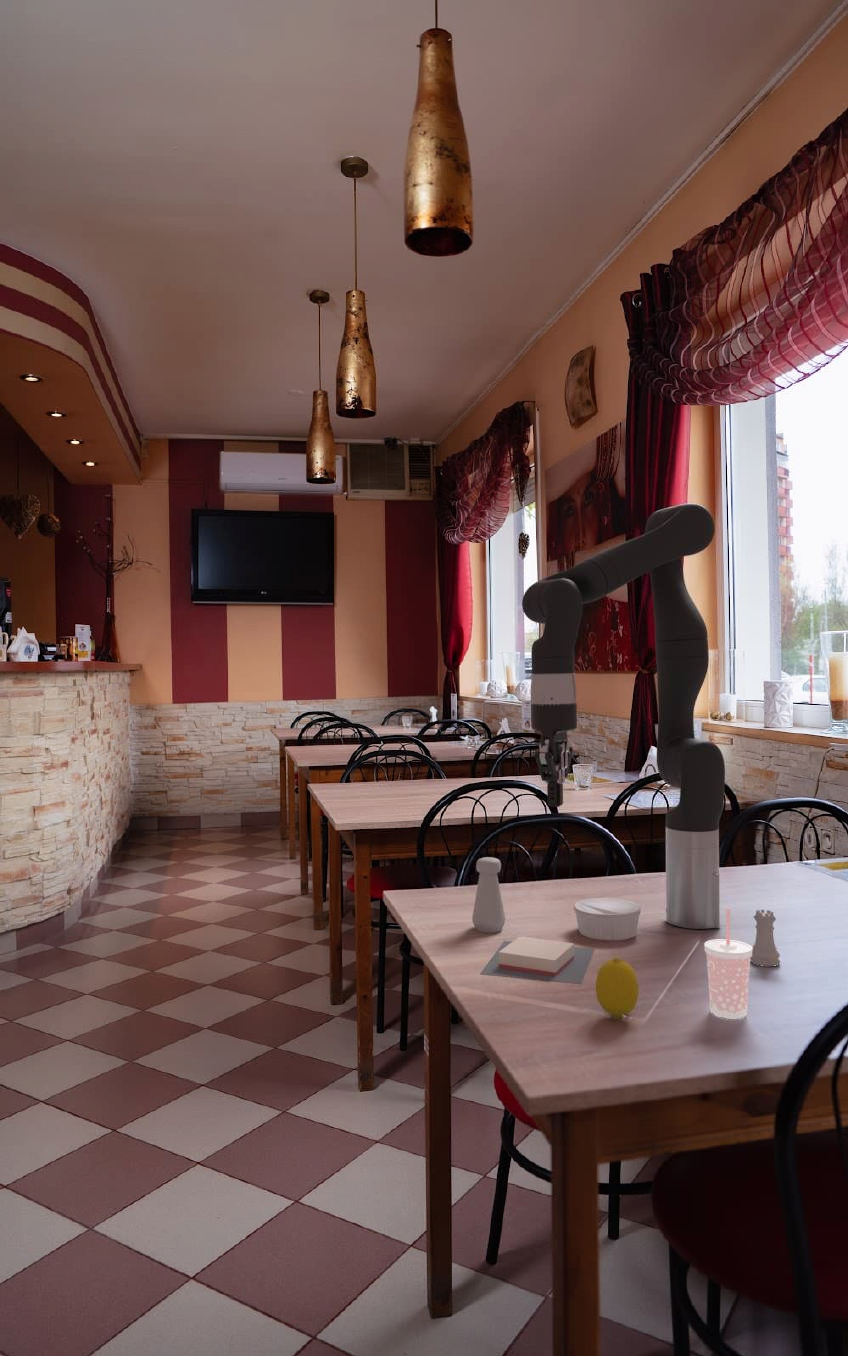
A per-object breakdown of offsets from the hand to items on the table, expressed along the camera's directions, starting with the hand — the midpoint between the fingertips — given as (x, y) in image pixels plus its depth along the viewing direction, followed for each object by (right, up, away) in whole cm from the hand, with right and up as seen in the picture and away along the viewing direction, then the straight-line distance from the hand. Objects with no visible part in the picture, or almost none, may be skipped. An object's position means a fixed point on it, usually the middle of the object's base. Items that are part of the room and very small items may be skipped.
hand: (555, 805), depth 147 cm
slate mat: (-4, -24, -8) cm, 25 cm away
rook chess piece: (+31, -24, -8) cm, 40 cm away
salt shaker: (-10, -24, +9) cm, 27 cm away
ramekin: (+10, -24, +7) cm, 27 cm away
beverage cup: (+19, -24, -29) cm, 42 cm away
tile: (-2, -22, -6) cm, 23 cm away
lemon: (+4, -24, -30) cm, 39 cm away
